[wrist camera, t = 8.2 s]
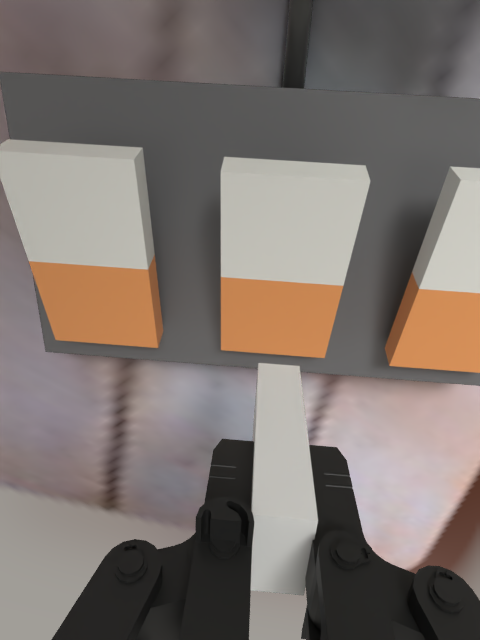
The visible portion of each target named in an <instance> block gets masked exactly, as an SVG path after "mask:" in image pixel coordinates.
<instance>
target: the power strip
mask: <svg viewBox="0 0 480 640" xmlns="http://www.w3.org/2000/svg"><path fill="white" fill-rule="evenodd" d="M312 6H313V0H290V3H289V15H288V27H287V39H286V51H285V63H284V75H283V86H282V88H281V87H263V86H245V85H227V84H209V83H192V82H174V81H156V80H138V79H120V78H102V77H85V76H67V75H49V74H31V73H13V72H0V83H1V89H2V95H3V101H4V107H5V113H6V119H7V125H8V130H9V136H10V139H11V140H28V141H44V142H60V143H76V144H93V145H109V146H125V147H142V148H143V155H144V164H145V172H146V181H147V190H148V199H149V208H150V217H151V226H152V235H153V244H154V253H155V262H156V270H157V279H158V288H159V297H160V306H161V315H162V324H163V334H162V337H161V340H160V343H159V347H158V348H151V347H138V346H125V345H112V344H99V343H87V342H74V341H61V340H55V337H54V334H53V331H52V328H51V325H50V322H49V319H48V316H47V313H46V310H45V308H44V305H43V302H42V299H41V296H40V293H39V290H38V287H37V284H36V281H35V278H34V275H33V279H34V285H35V291H36V297H37V303H38V309H39V315H40V321H41V327H42V333H43V338H44V344H45V350H46V352H55V353H68V354H80V355H93V356H106V357H119V358H131V359H144V360H157V361H170V362H183V363H195V364H208V365H221V366H234V367H246V368H258V363H267V364H280V365H293V366H300V372H310V373H323V374H336V375H349V376H362V377H374V378H387V379H400V380H413V381H425V382H438V383H451V384H464V385H477V386H480V373H475V372H462V371H449V370H436V369H423V368H410V367H397V366H389V363H388V359H387V355H386V351H385V346H386V343H387V340H388V337H389V335H390V332H391V329H392V326H393V324H394V321H395V318H396V315H397V312H398V310H399V307H400V304H401V301H402V298H403V296H404V293H405V290H406V287H407V285H408V282H409V279H410V276H411V273H412V271H413V268H414V265H415V262H416V260H417V257H418V254H419V251H420V248H421V246H422V243H423V240H424V237H425V235H426V232H427V229H428V226H429V223H430V221H431V218H432V215H433V212H434V210H435V207H436V204H437V201H438V198H439V196H440V193H441V190H442V187H443V185H444V182H445V179H446V176H447V173H448V171H449V168H450V166H451V167H467V168H480V99H477V98H459V97H441V96H423V95H406V94H388V93H370V92H352V91H334V90H316V89H304V83H305V73H306V64H307V54H308V45H309V35H310V25H311V16H312ZM224 157H237V158H253V159H269V160H286V161H302V162H318V163H334V164H350V165H366V168H367V171H368V175H369V178H370V185H369V189H368V193H367V197H366V201H365V204H364V208H363V212H362V216H361V220H360V224H359V228H358V231H357V235H356V239H355V243H354V247H353V251H352V255H351V258H350V262H349V266H348V270H347V274H346V278H345V282H344V285H343V289H342V293H341V297H340V301H339V305H338V309H337V312H336V316H335V320H334V324H333V328H332V332H331V335H330V339H329V343H328V347H327V351H326V355H325V358H316V357H303V356H290V355H277V354H264V353H251V352H238V351H225V350H221V168H222V164H223V160H224ZM32 273H33V272H32Z"/></svg>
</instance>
